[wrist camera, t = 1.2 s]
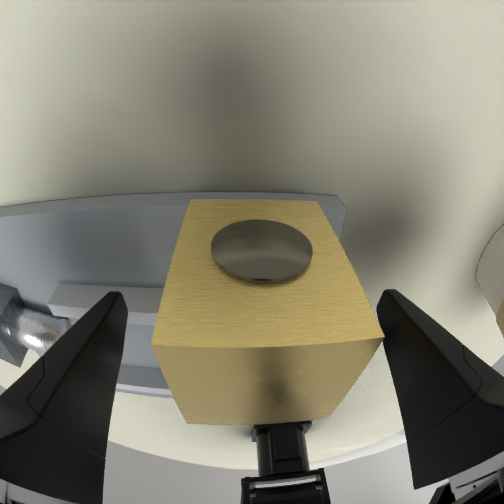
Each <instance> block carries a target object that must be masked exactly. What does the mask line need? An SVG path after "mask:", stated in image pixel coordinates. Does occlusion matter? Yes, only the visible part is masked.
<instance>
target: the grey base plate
mask: <svg viewBox="0 0 504 504" xmlns="http://www.w3.org/2000/svg"><path fill="white" fill-rule="evenodd" d="M190 199H262V200H296V201H317V202H318V204H319V206H320V207H321V209H322V211H323V213H324V215H325V216H326V218H327V220H328V222H329V224H330V225H331V227H332V229H333V231H334V233H335V235H336V236H337V238H338V240H339V241H340V237H341V233H342V229H343V225H344V220H345V216H346V212H347V208H346V207H345V206H344V204H343V203H342V201H341V200H340V199H339V197H338V196H334V195H318V194H297V193H268V192H175V193H147V194H127V195H111V196H97V197H85V198H73V199H63V200H54V201H45V202H36V203H28V204H21V205H14V206H7V207H0V283H2V284H5V285H8V286H11V287H14V288H17V289H18V291H19V294H20V296H21V299H22V301H23V303H24V305H25V307H26V308H29V309H33V310H36V311H39V312H42V313H46V314H49V315H52V316H56V317H60V318H63V319H67V320H69V321H70V323H71V326H72V325H74V324H75V323H76V322H77V321H78V320H79V319H80V318H81V317H82V316H83V315H84V314H85V313H86V312H87V311H88V310H89V309H91V308H92V307H93V306H94V305H95V304H96V303H97V302H98V301H99V300H100V299H101V298H103V297H104V296H105V295H106V294H107V293H108V292H110V291H119V292H121V293H122V294H123V297H124V300H125V303H126V305H127V308H128V319H127V326H126V333H125V341H124V349H123V356H122V361H121V365H120V370H119V375H118V379H117V385H116V390H115V391H118V392H124V393H131V394H139V395H147V396H156V397H166V398H174V397H173V395H172V393H171V390H170V388H169V386H168V384H167V382H166V380H165V377H164V375H163V373H162V370H161V368H160V366H159V363H158V361H157V359H156V356H155V354H154V351H153V349H152V346H151V341H152V337H153V332H154V328H155V323H156V319H157V315H158V311H159V307H160V303H161V299H162V295H163V291H164V287H165V283H166V279H167V276H168V272H169V268H170V265H171V261H172V257H173V254H174V251H175V247H176V244H177V240H178V237H179V234H180V230H181V227H182V224H183V221H184V217H185V214H186V211H187V208H188V205H189V202H190ZM36 352H37V351H36ZM37 353H38V355H39V356H40V357H41V356H42V355H43V356H44V354H43V353H40V352H37Z"/></svg>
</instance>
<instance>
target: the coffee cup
mask: <svg viewBox="0 0 504 504" xmlns="http://www.w3.org/2000/svg"><path fill="white" fill-rule="evenodd" d="M476 280H477V282H478V284H479V286H480V288H481V289H482V291H483V293H484V295H485V297H486V298H487V300H488V302H489V304H490V306H491V308H492V310H493V312H494V314H495V316H496V322H497V324H498V326H499V328H500V330H501V333H502V335H503V337H504V225H503V226H502V227H501V228H500V229H499V230H498V231H497V232H496V233H495V235H494V236H493V237H492V239H491V240H490V242H489V243H488V245H487V246H486V248H485V250H484V252H483V254H482V256H481V258H480V260H479V263H478V266H477V271H476Z"/></svg>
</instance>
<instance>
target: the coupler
mask: <svg viewBox="0 0 504 504" xmlns="http://www.w3.org/2000/svg"><path fill="white" fill-rule="evenodd" d="M384 337H385V336H384V334H383V332H382V329H381V327H380V325H379V322H378V320H377V318H376V316H375V314H374V311H373V309H372V307H371V305H370V303H369V300H368V298H367V296H366V294H365V292H364V290H363V288H362V286H361V284H360V281H359V279H358V277H357V275H356V273H355V271H354V269H353V267H352V265H351V263H350V261H349V259H348V257H347V255H346V254H345V252H344V250H343V248H342V246H341V244H340V242H339V240H338V238H337V236H336V235H335V233H334V231H333V229H332V227H331V225H330V224H329V222H328V220H327V218H326V216H325V215H324V213H323V211H322V209H321V207H320V206H319V204H318V202H317V201H296V200H262V199H190V202H189V205H188V208H187V211H186V214H185V217H184V221H183V224H182V227H181V230H180V234H179V237H178V240H177V244H176V247H175V251H174V254H173V257H172V261H171V265H170V268H169V272H168V276H167V279H166V283H165V287H164V291H163V295H162V299H161V303H160V307H159V311H158V315H157V319H156V323H155V328H154V332H153V337H152V341H151V346H152V349H153V351H154V354H155V356H156V359H157V361H158V363H159V366H160V368H161V370H162V373H163V375H164V377H165V380H166V382H167V384H168V386H169V388H170V390H171V393H172V395H173V397H174V399H175V401H176V403H177V405H178V407H179V409H180V411H181V413H182V415H183V417H184V419H185V421H186V423H189V424H209V425H252V424H273V423H286V422H297V421H306V420H314V419H321V418H328V417H329V416H330V415H331V414H332V412H333V411H334V410H335V409H336V407H337V406H338V405H339V403H340V402H341V401H342V399H343V398H344V397H345V395H346V394H347V393H348V391H349V390H350V389H351V387H352V386H353V384H354V383H355V382H356V380H357V379H358V377H359V376H360V375H361V373H362V372H363V370H364V369H365V367H366V366H367V364H368V363H369V361H370V360H371V358H372V357H373V355H374V353H375V352H376V350H377V349H378V347H379V345H380V344H381V342H382V341H383V339H384Z"/></svg>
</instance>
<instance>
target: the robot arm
mask: <svg viewBox="0 0 504 504" xmlns="http://www.w3.org/2000/svg"><path fill="white" fill-rule="evenodd" d="M376 310H377V316H378V321H379V325H380V327H381V329H382V332H383V334H384V336H385V337H384V339H383V345H384V350H385V353H386V357H387V360H388V364H389V367H390V371H391V375H392V378H393V382H394V386H395V390H396V394H397V398H398V402H399V407H400V411H401V416H402V420H403V425H404V430H405V435H406V440H407V446H408V452H409V458H410V465H411V471H412V478H413V486H414V489H419V488H422V487H425V486H428V485H431V484H433V483H436V482H439V481H442V480H444V479H447V478H449V482H447V483H445V484H444V485H442V486H440V487H438V488H437V489H436V491H435V493H434V495H433V497H432V499H431V501H430V503H429V504H504V377H503V376H502V375H500V374H499V373H498V372H497V371H495V370H494V369H493V368H492V367H490V366H489V365H488V364H486V363H485V362H484V361H483V360H481V359H480V358H479V357H477V356H476V355H475V354H474V353H473V352H472V351H470V350H469V349H468V348H467V347H466V346H465V345H463V344H462V343H461V342H460V341H459V340H458V339H456V338H455V337H454V336H453V335H452V334H450V333H449V332H448V331H447V330H446V329H444V328H443V327H442V326H441V325H440V324H438V323H437V322H436V321H435V320H434V319H432V318H431V317H430V316H429V315H427V314H426V313H425V312H424V311H422V310H421V309H420V308H419V307H417V306H416V305H415V304H414V303H412V302H411V301H410V300H409V299H407V298H406V297H405V296H403V295H402V294H401V293H400V292H398V291H397V290H395V289H386V290H384V291H383V293H382V296H381V298H380V300H379V302H378V304H377V309H376ZM127 319H128V308H127V305H126V303H125V300H124V297H123V294H122V293H121V292H119V291H110V292H108V293H107V294H106V295H105V296H104V297H103V298H101V299H100V300H99V301H98V302H97V303H96V304H95V305H94V306H93V307H92V308H91V309H89V310H88V311H87V312H86V313H85V314H84V315H83V316H82V317H81V318H80V319H79V320H78V321H77V322H76V323H75V324H74V325H72V326H71V327H70V328H69V329H68V330H67V331H66V332H65V333H64V334H63V335H62V336H61V337H60V338H59V339H58V340H57V341H56V342H55V343H54V344H53V345H52V346H51V347H50V348H49V349H48V350H47V351H46V352H45V353H44V356H43V355H42V356H41V357H40V358H39V359H38V360H37V361H36V362H35V363H34V364H33V365H32V366H31V367H30V368H29V369H28V370H27V371H26V372H25V373H24V374H23V375H22V376H21V377H20V378H19V379H18V380H17V381H16V382H14V383H13V384H12V385H11V386H10V387H9V388H8V389H7V390H6V391H5V392H3V394H1V395H0V504H102V500H103V483H104V470H105V457H106V448H107V440H108V433H109V426H110V419H111V413H112V406H113V401H114V395H115V390H116V385H117V379H118V375H119V370H120V365H121V361H122V356H123V349H124V341H125V333H126V326H127ZM311 425H312V422H311V421H302V422H292V423H281V424H266V425H255V426H254V427H253V433H252V442H257V455H258V469H259V477H245V478H242V479H241V485H242V493H241V504H331V503H330V497H329V492H328V487H327V482H326V477H325V473H324V468H319V469H318V470H312V471H310V468H309V461H308V454H307V447H306V440H305V433H306V432H307V430H308V429H309V428H310V426H311ZM311 478H316V481H312V482H307V483H300V484H293V485H285V486H276V487H264V488H255V485H260V484H273V483H283V482H291V481H299V480H305V479H311ZM316 488H317V489H316Z"/></svg>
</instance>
